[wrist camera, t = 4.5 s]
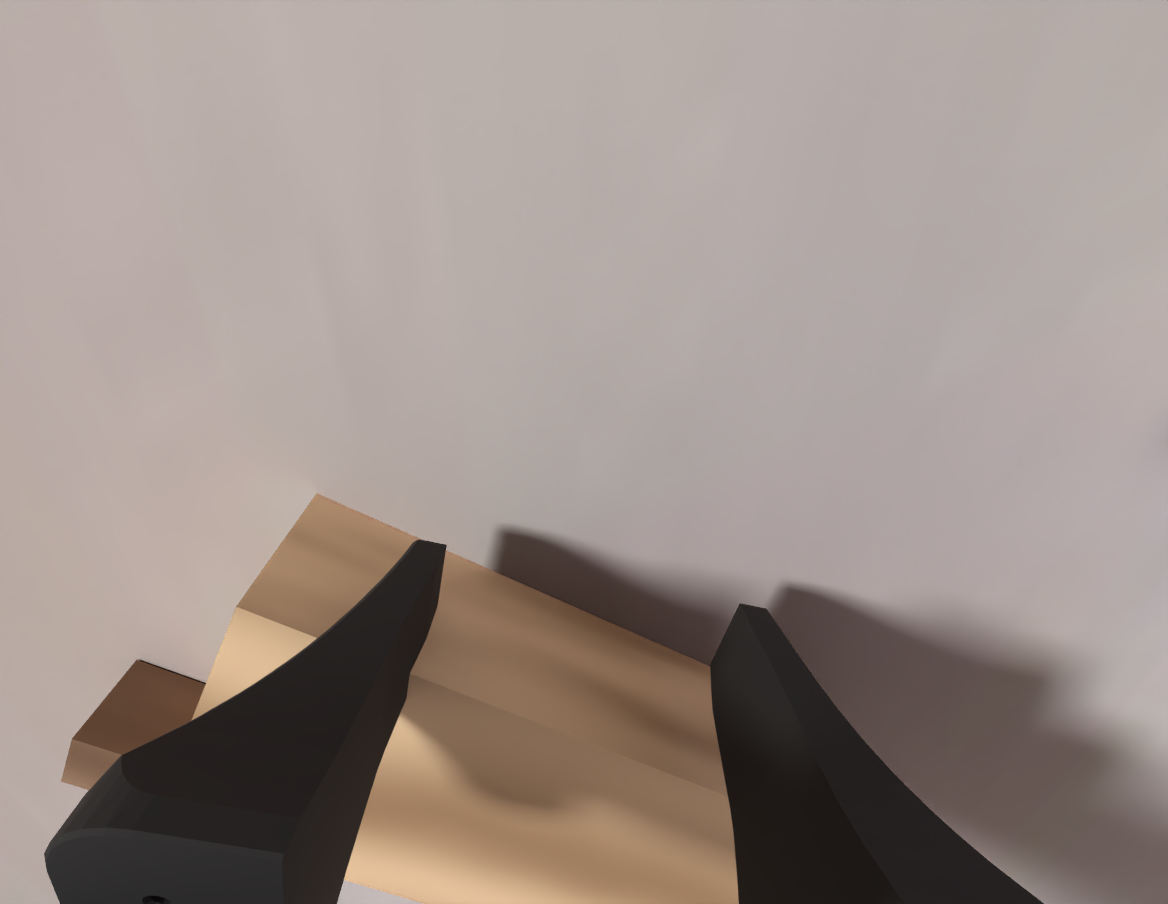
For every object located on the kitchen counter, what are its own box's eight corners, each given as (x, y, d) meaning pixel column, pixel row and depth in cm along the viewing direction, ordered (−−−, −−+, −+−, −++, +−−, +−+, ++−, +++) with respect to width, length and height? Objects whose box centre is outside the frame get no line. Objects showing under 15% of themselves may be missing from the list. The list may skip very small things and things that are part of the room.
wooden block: (319, 488, 15) (236, 606, 12) (786, 694, 18) (830, 836, 15) (235, 685, 19) (151, 822, 15) (639, 829, 22) (646, 969, 18)
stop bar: (136, 659, 18) (-14, 843, 13) (672, 849, 22) (690, 1037, 17) (123, 701, 19) (-21, 886, 14) (641, 875, 23) (651, 1061, 18)
